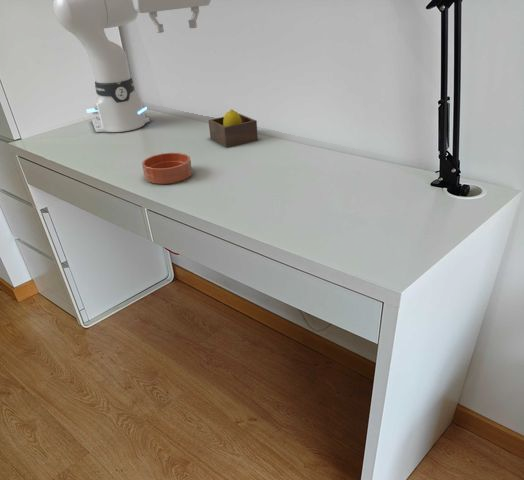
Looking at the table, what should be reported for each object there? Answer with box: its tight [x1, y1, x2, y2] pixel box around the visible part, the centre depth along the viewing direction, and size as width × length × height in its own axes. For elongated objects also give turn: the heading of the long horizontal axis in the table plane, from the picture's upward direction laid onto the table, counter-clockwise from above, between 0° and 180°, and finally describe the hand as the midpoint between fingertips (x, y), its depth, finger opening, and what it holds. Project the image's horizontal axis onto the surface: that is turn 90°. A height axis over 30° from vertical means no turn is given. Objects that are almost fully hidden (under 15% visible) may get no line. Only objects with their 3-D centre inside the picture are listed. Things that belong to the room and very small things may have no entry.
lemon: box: [223, 109, 242, 127], centre depth 148 cm, size 6×6×8 cm
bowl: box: [141, 152, 193, 185], centre depth 128 cm, size 12×12×4 cm
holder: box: [208, 113, 259, 148], centre depth 149 cm, size 11×11×6 cm
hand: (176, 30), depth 130 cm, fingers open, 8 cm apart
